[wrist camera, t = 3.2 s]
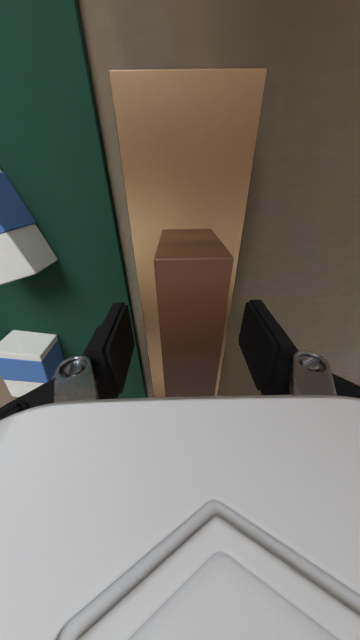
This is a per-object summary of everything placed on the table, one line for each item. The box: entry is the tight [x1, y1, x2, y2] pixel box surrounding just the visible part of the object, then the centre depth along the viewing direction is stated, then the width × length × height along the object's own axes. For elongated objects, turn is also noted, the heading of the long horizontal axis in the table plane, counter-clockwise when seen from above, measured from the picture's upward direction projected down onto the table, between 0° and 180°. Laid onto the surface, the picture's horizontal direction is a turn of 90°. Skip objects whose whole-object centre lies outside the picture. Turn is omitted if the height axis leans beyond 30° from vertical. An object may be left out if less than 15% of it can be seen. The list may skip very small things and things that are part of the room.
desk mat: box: [0, 0, 147, 399], centre depth 14 cm, size 26×12×1 cm, turn 1°
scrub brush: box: [109, 68, 267, 398], centre depth 12 cm, size 20×5×7 cm, turn 1°
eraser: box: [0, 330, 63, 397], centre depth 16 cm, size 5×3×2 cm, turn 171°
